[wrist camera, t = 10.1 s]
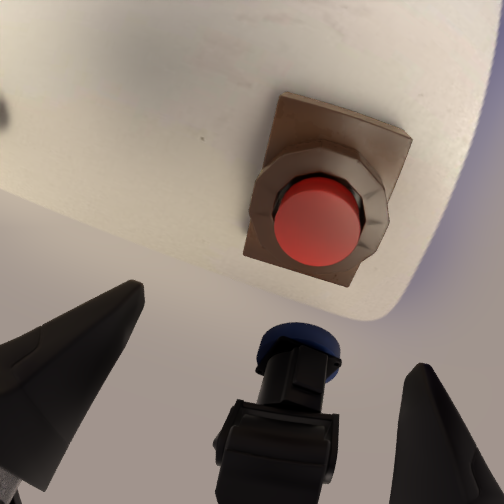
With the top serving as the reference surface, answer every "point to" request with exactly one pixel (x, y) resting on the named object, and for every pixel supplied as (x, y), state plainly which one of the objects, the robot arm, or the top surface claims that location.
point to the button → (318, 222)
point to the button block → (326, 176)
